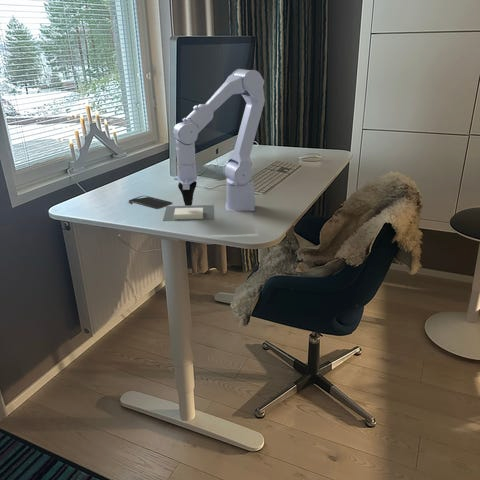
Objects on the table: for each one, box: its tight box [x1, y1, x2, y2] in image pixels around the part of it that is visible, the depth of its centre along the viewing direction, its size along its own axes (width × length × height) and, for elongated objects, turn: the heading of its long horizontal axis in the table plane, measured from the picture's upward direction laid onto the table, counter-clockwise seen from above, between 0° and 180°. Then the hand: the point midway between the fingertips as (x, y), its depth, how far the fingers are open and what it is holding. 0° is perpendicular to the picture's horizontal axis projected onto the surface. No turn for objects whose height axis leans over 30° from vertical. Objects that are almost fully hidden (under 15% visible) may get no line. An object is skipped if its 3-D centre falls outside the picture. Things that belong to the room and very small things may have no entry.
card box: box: [174, 208, 203, 219], centre depth 145 cm, size 9×2×6 cm
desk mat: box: [162, 204, 215, 222], centre depth 148 cm, size 16×14×1 cm
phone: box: [128, 195, 173, 210], centre depth 159 cm, size 8×1×15 cm
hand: (188, 204), depth 145 cm, fingers closed
